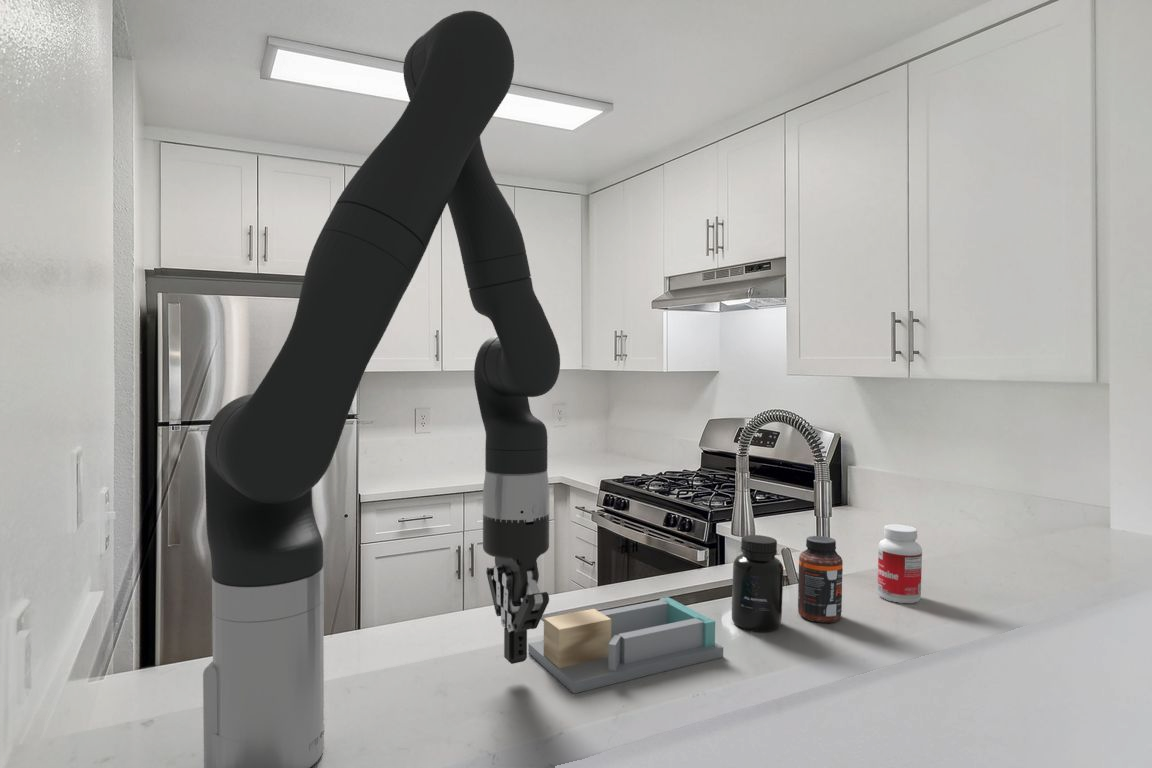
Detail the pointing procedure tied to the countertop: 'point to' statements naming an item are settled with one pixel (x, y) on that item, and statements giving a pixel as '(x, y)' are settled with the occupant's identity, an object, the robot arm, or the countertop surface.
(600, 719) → the countertop surface
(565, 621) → the beech block
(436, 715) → the countertop surface
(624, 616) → the guide board
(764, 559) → the supplement bottle
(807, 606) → the supplement bottle
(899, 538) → the pill bottle
